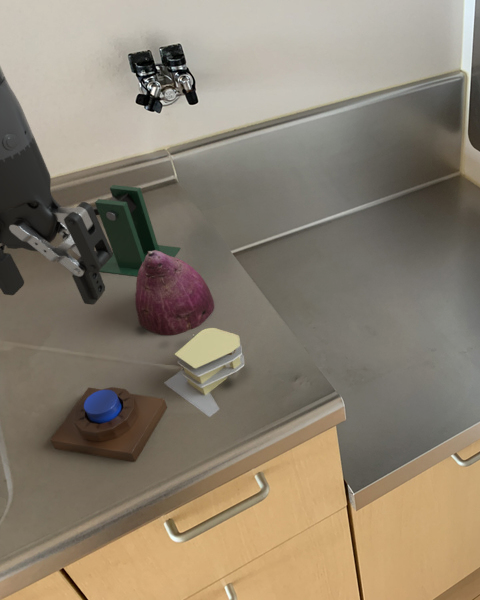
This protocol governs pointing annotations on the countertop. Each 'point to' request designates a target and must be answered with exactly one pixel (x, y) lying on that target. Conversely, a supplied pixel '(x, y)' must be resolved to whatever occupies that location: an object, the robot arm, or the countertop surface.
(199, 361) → the yellow layered block
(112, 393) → the button
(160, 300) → the vegetable
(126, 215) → the switch bracket
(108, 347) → the countertop surface
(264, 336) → the countertop surface
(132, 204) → the lever
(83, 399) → the switch box
